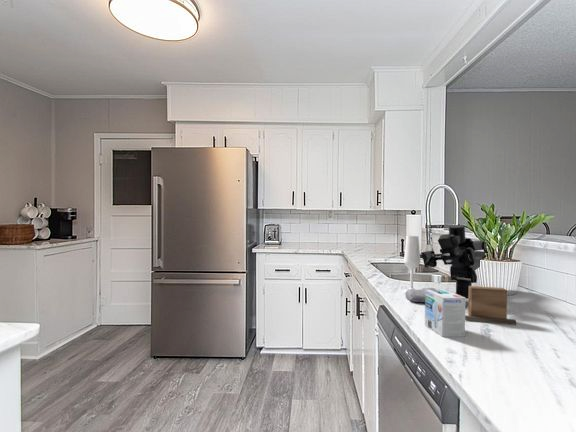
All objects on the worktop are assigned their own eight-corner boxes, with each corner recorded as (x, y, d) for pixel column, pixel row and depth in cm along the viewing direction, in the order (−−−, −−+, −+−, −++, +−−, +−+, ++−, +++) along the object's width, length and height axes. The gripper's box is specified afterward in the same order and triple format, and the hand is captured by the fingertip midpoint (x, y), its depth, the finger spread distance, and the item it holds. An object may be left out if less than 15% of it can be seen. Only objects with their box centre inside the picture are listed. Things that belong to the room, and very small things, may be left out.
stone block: (444, 307, 129) (435, 296, 139) (444, 295, 128) (435, 285, 138) (410, 308, 130) (404, 297, 140) (410, 296, 129) (404, 286, 139)
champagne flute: (417, 294, 145) (418, 236, 144) (401, 292, 148) (402, 236, 148) (421, 292, 150) (422, 236, 150) (405, 289, 154) (406, 235, 154)
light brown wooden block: (468, 316, 115) (468, 285, 115) (502, 318, 113) (502, 287, 112) (471, 319, 111) (471, 288, 111) (506, 322, 109) (507, 290, 109)
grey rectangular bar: (464, 319, 111) (464, 315, 111) (514, 323, 108) (514, 319, 108) (465, 320, 110) (465, 316, 110) (516, 324, 106) (516, 320, 106)
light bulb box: (423, 324, 105) (424, 289, 105) (445, 324, 106) (445, 288, 106) (442, 337, 94) (443, 297, 94) (466, 337, 95) (466, 297, 95)
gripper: (427, 235, 144) (409, 244, 133) (475, 230, 130) (459, 239, 120) (433, 262, 144) (416, 273, 133) (482, 259, 130) (467, 271, 120)
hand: (438, 263), depth 126 cm, fingers open, 9 cm apart
